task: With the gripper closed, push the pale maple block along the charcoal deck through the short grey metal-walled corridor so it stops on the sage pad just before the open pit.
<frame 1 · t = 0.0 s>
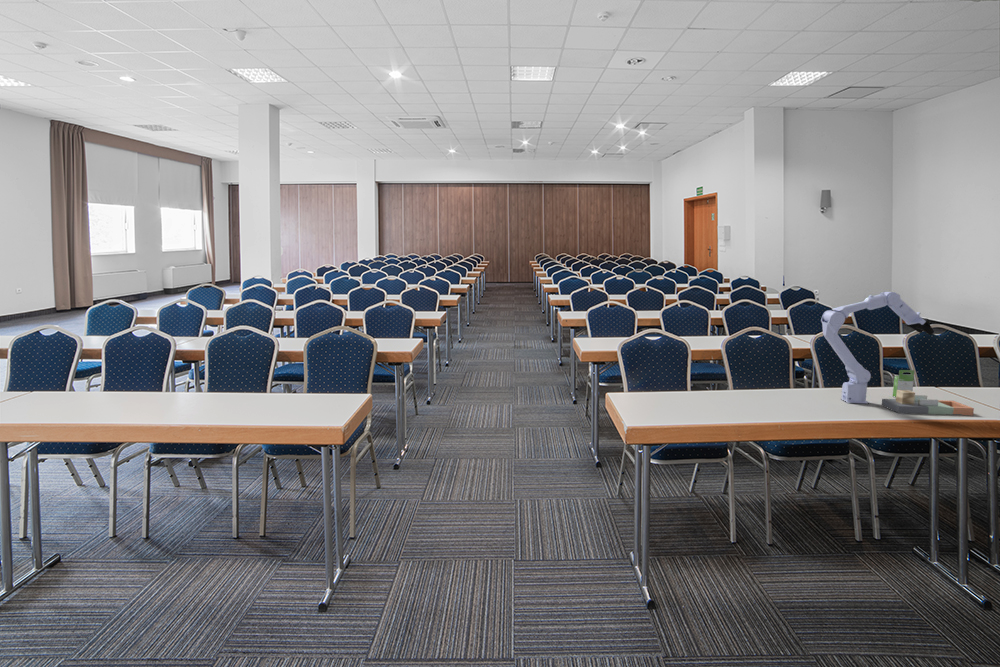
hand: (927, 332, 288), 32 cm above the table, tool tilted 50°, fingers open, 7 cm apart
ink box: (902, 398, 305), on the table
maple block: (904, 402, 280), point 3 cm above the table, touching deck
corridor walls: (922, 400, 280), on the deck, point 4 cm above the table
deck: (926, 410, 280), on the table
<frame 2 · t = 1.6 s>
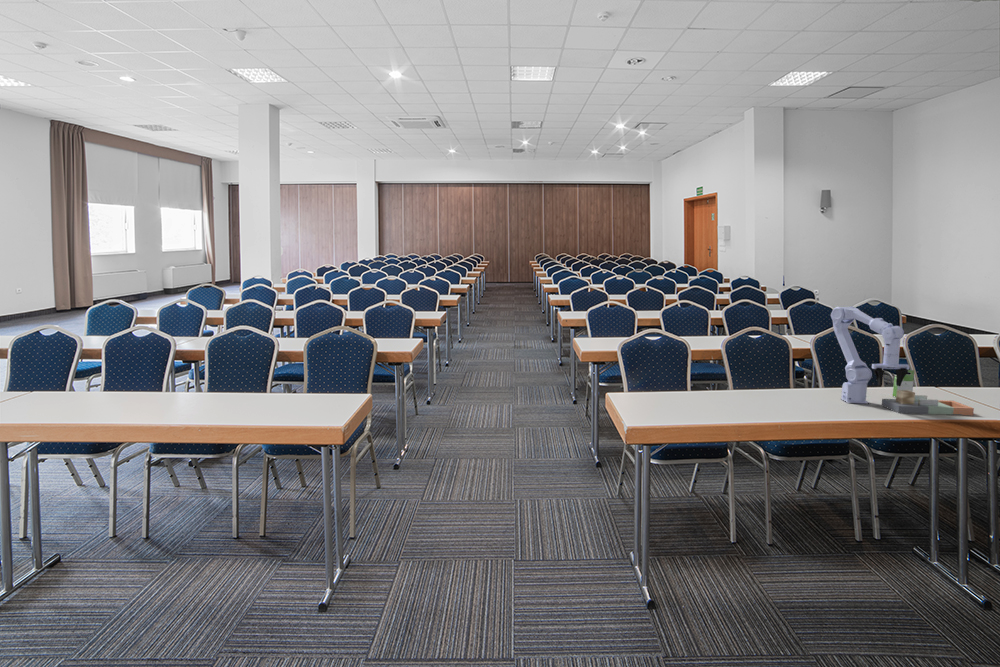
hand: (889, 385, 280), 10 cm above the table, tool pointing down, fingers open, 7 cm apart
nothing on the table moved.
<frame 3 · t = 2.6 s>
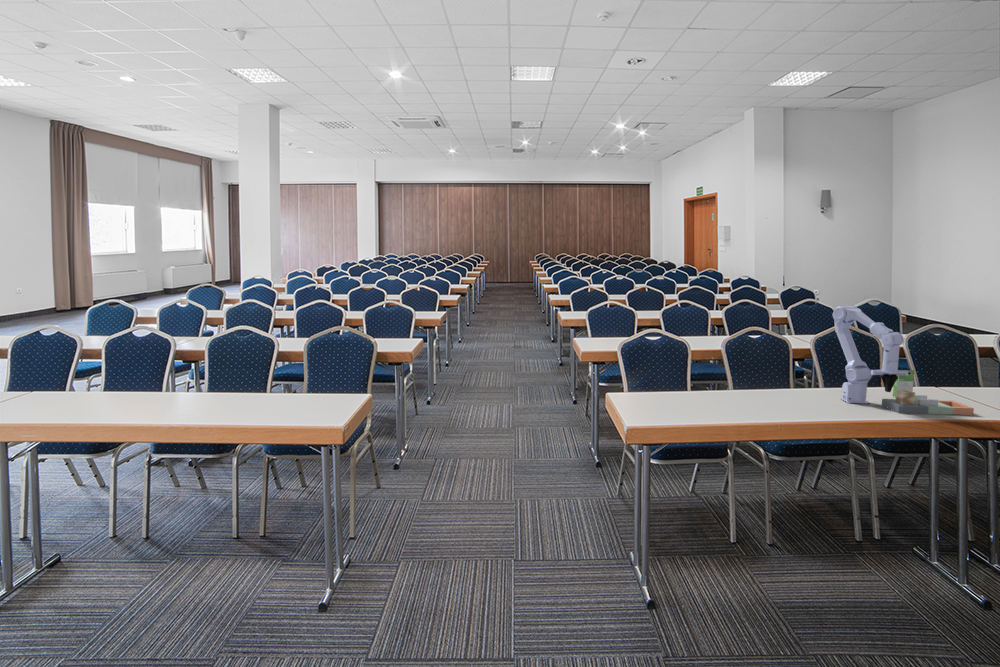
hand: (887, 391, 280), 8 cm above the table, tool pointing down, fingers closed
nothing on the table moved.
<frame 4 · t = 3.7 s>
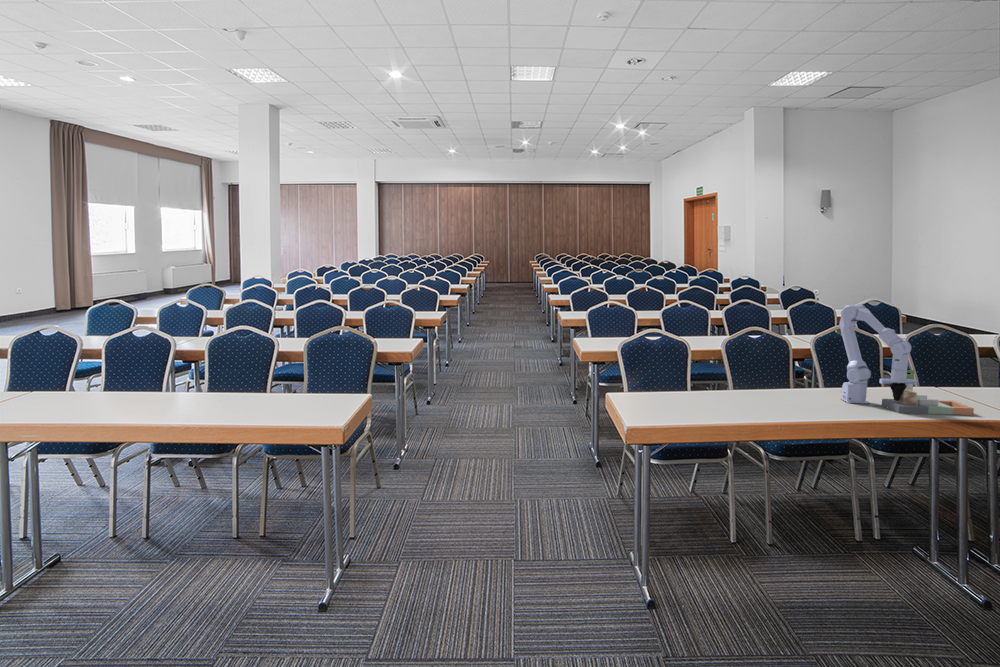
hand: (896, 400, 280), 4 cm above the table, tool pointing down, fingers closed
maple block: (906, 402, 280), point 3 cm above the table, touching deck, gripper
everything else where it was.
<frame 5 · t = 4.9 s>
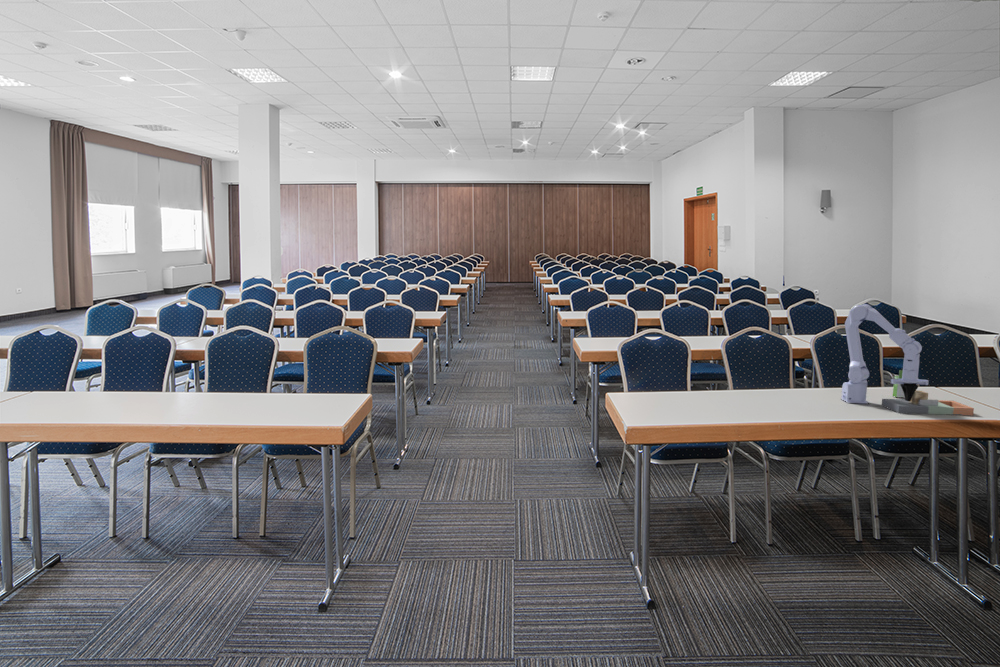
hand: (907, 400, 280), 4 cm above the table, tool pointing down, fingers closed
maple block: (917, 403, 280), point 3 cm above the table, touching gripper
everything else where it was.
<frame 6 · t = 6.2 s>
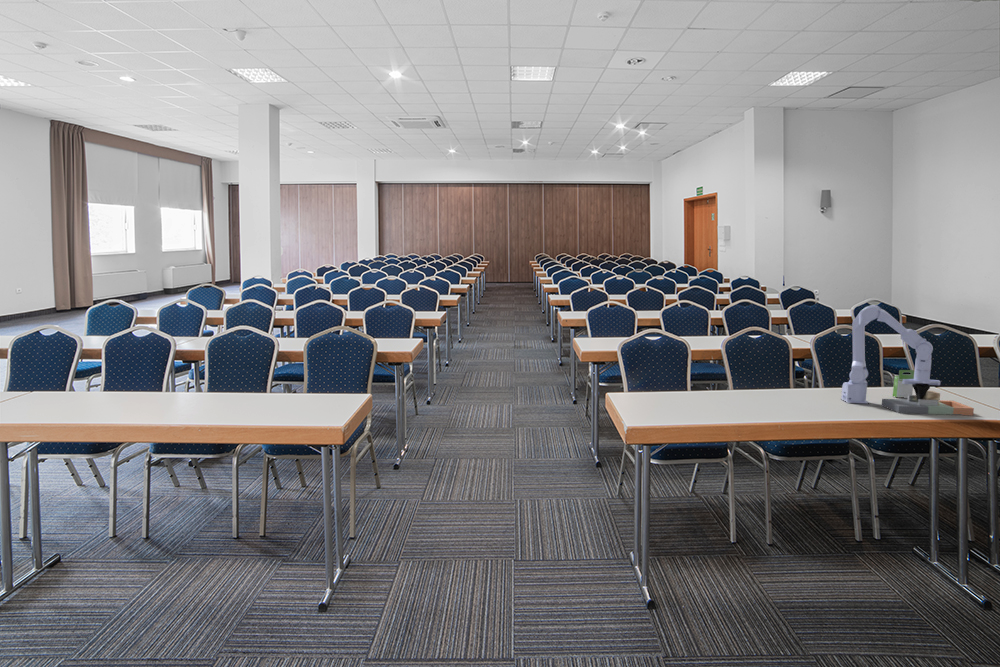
hand: (919, 401, 280), 4 cm above the table, tool pointing down, fingers closed
maple block: (929, 403, 280), point 3 cm above the table, touching deck, gripper
everything else where it was.
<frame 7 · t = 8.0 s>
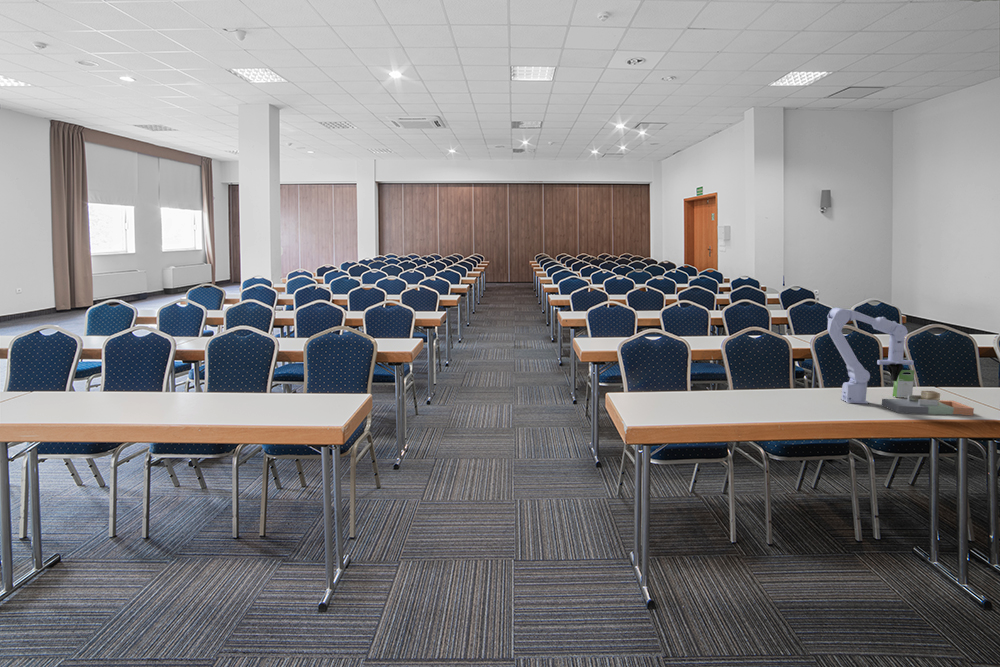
hand: (894, 380, 291), 10 cm above the table, tool pointing down, fingers closed
maple block: (929, 403, 280), point 3 cm above the table, touching deck
everything else where it was.
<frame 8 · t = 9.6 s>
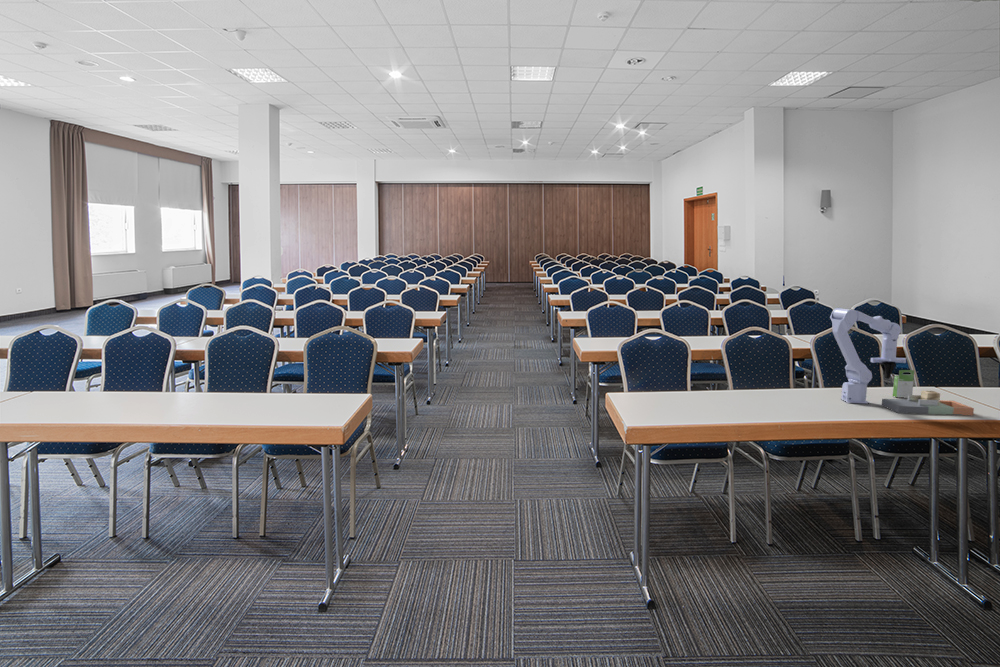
hand: (886, 378, 296), 10 cm above the table, tool pointing down, fingers closed
nothing on the table moved.
at the end: maple block inside the target area (0.8 cm from its centre), point 3.0 cm above the table; maple block tilted 0° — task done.
